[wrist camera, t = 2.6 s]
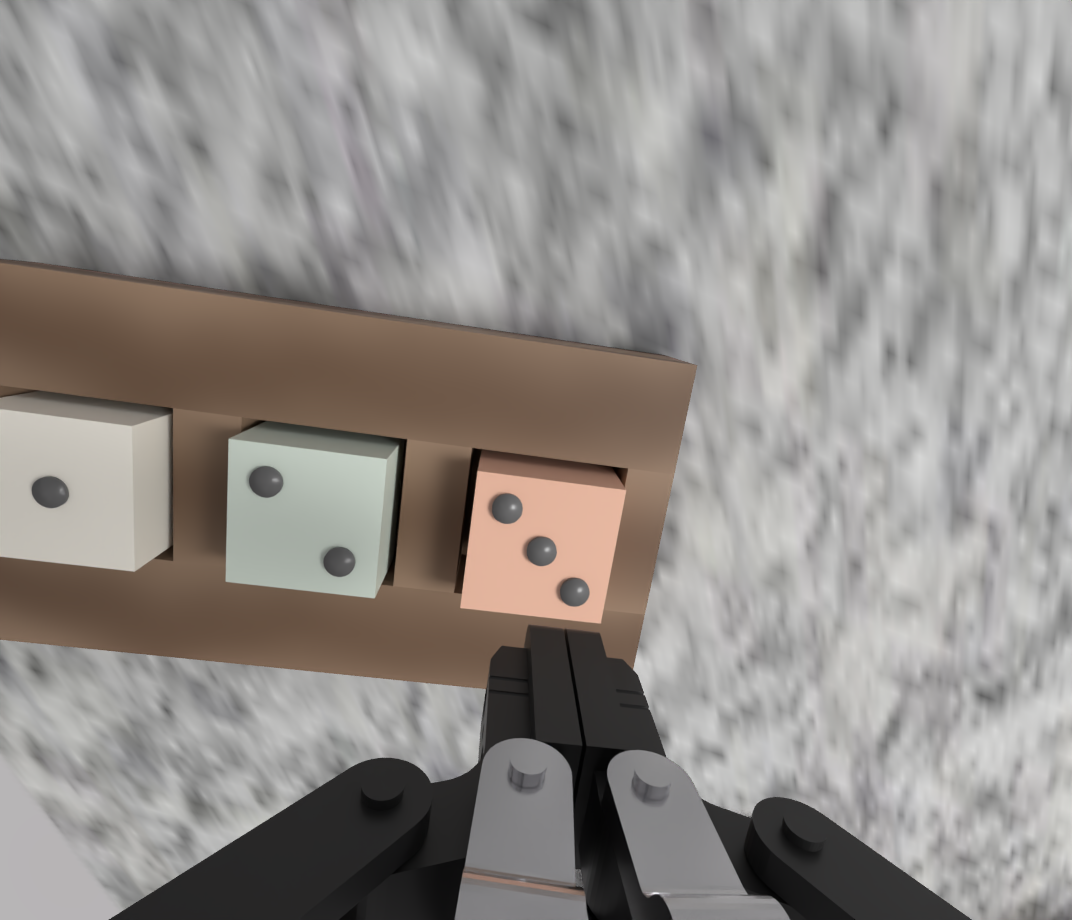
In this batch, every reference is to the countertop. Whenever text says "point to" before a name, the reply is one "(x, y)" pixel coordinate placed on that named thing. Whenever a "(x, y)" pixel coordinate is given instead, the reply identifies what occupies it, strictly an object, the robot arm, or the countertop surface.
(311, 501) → the button
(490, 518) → the button
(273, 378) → the button panel
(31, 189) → the countertop surface
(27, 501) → the button
